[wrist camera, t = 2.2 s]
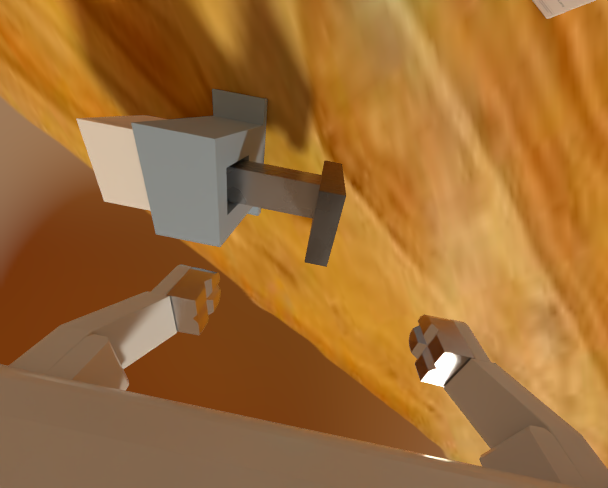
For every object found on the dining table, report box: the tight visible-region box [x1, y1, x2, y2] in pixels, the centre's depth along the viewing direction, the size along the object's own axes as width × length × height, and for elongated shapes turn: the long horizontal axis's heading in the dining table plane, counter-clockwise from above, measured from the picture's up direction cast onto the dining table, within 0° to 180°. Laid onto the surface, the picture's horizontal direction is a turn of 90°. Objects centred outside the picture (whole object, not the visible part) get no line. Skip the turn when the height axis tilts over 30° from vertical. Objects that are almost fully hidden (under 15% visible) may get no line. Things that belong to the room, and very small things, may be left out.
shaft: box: [226, 159, 346, 267], centre depth 17 cm, size 5×20×8 cm, turn 81°
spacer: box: [76, 115, 167, 211], centre depth 20 cm, size 6×4×7 cm, turn 171°
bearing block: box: [131, 89, 268, 247], centre depth 20 cm, size 12×5×12 cm, turn 171°
